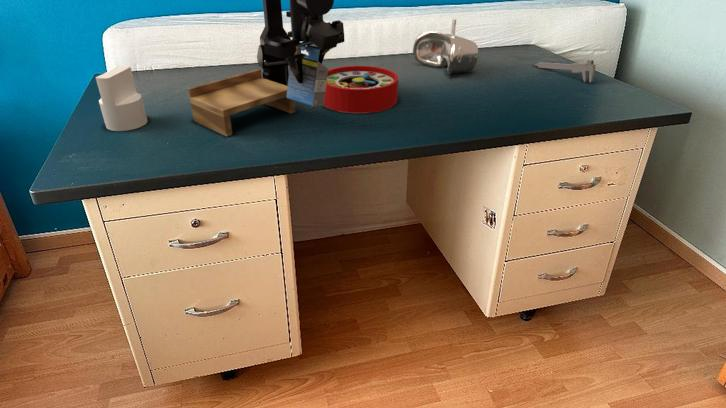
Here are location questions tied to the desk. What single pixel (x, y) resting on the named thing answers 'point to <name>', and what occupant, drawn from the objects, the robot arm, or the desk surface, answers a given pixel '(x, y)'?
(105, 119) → the cylinder with rectangular tab
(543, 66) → the caliper
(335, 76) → the toy clock
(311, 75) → the label tape box
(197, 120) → the shelf
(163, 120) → the desk surface
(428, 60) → the silver curved metal piece
